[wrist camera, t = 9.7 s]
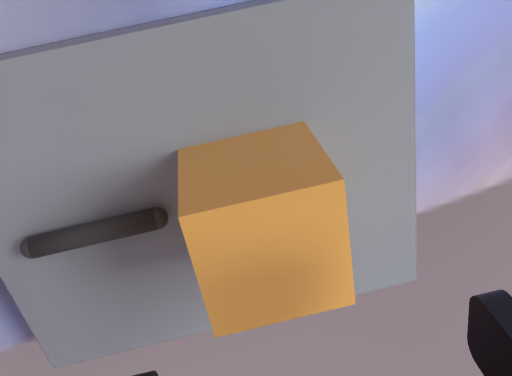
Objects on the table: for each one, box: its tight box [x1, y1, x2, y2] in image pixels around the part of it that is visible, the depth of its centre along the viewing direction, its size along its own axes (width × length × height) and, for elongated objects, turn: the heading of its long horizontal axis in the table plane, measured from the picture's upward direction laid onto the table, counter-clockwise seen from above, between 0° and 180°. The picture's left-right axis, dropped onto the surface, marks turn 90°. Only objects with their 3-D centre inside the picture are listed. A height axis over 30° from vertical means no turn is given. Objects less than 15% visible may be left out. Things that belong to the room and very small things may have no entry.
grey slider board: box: [0, 0, 417, 368], centre depth 18 cm, size 18×14×5 cm
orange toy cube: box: [178, 121, 356, 338], centre depth 17 cm, size 5×5×5 cm
